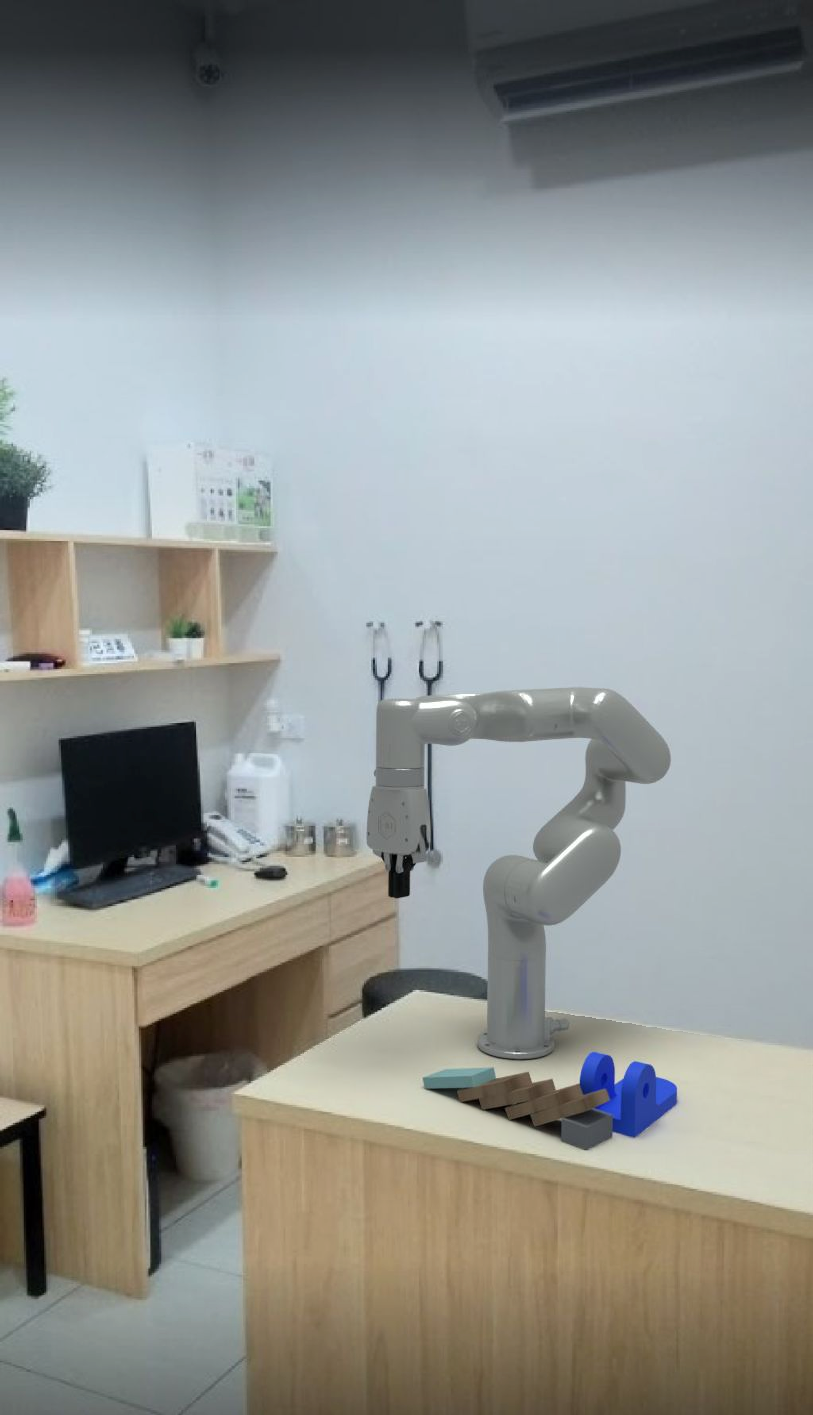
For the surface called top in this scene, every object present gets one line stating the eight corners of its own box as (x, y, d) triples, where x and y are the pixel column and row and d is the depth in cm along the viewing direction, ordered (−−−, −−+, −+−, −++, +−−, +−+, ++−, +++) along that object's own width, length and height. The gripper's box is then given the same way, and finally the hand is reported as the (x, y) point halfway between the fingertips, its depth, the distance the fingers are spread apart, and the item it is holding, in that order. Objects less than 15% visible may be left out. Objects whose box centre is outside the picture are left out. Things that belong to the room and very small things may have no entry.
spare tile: (445, 1069, 174) (493, 1067, 167) (447, 1079, 174) (496, 1078, 167) (422, 1077, 170) (471, 1075, 163) (424, 1088, 170) (473, 1087, 163)
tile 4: (527, 1098, 163) (579, 1083, 156) (531, 1109, 162) (583, 1095, 156) (505, 1108, 159) (557, 1092, 153) (508, 1119, 159) (561, 1104, 152)
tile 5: (552, 1104, 159) (605, 1088, 153) (556, 1115, 159) (610, 1100, 153) (530, 1114, 156) (584, 1098, 150) (534, 1126, 155) (588, 1110, 149)
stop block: (587, 1127, 156) (588, 1106, 156) (612, 1136, 153) (612, 1114, 153) (561, 1140, 152) (561, 1118, 152) (586, 1149, 149) (586, 1127, 149)
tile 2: (479, 1081, 169) (528, 1071, 162) (482, 1092, 168) (532, 1082, 162) (456, 1090, 165) (506, 1080, 159) (460, 1102, 165) (509, 1092, 158)
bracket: (634, 1138, 153) (635, 1072, 153) (578, 1123, 158) (579, 1059, 158) (685, 1097, 168) (686, 1037, 167) (633, 1085, 173) (634, 1026, 172)
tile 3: (501, 1089, 166) (552, 1078, 159) (504, 1100, 166) (555, 1090, 159) (478, 1098, 162) (530, 1087, 156) (482, 1109, 162) (533, 1099, 155)
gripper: (349, 776, 179) (348, 892, 179) (418, 784, 168) (417, 907, 169) (383, 773, 184) (382, 886, 185) (452, 780, 174) (451, 900, 174)
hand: (399, 896), depth 177 cm, fingers closed
